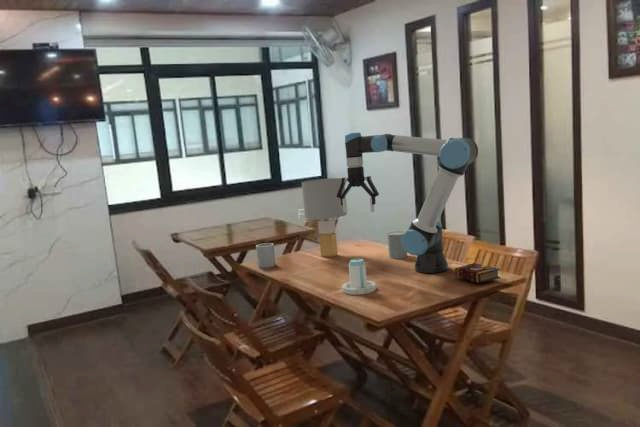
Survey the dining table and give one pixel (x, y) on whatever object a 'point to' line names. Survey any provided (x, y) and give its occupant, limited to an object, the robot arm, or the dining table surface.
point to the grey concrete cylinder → (396, 245)
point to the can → (357, 273)
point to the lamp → (324, 210)
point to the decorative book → (477, 273)
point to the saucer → (370, 288)
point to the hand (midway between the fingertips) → (358, 212)
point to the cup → (265, 255)
